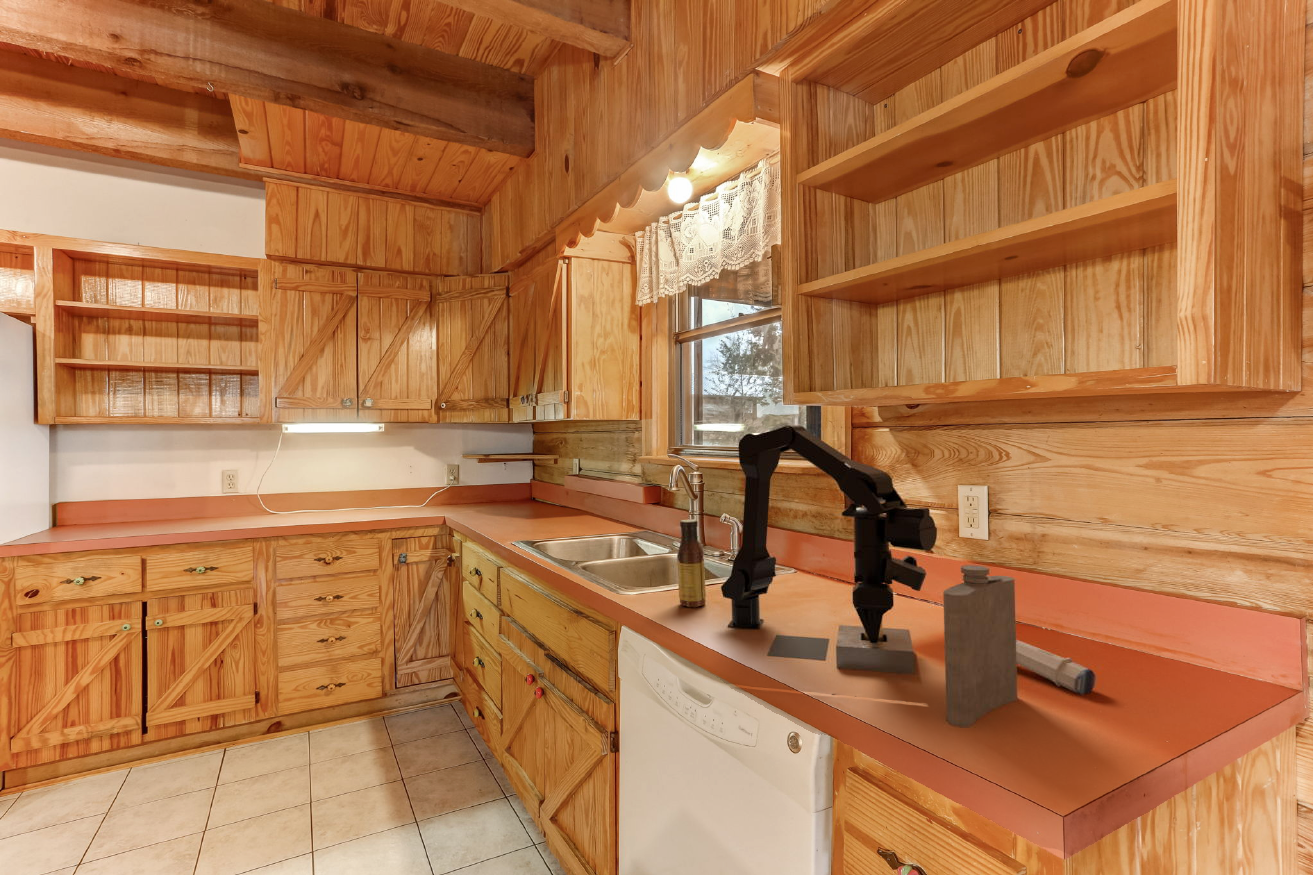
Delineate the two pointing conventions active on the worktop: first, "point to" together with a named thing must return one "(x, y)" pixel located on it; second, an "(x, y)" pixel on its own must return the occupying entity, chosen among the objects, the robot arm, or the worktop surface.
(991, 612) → the hip flask
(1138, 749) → the worktop surface
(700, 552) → the sauce bottle
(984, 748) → the worktop surface
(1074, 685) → the flashlight
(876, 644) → the block
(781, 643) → the mat
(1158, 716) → the worktop surface
